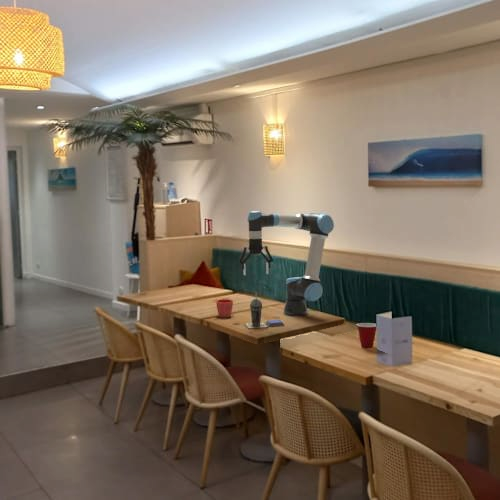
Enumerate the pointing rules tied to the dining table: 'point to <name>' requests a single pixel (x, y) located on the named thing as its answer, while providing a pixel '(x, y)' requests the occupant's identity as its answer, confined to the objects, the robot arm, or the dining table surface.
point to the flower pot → (224, 307)
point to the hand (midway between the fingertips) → (256, 274)
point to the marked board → (262, 325)
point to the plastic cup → (366, 334)
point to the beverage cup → (256, 311)
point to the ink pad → (274, 323)
